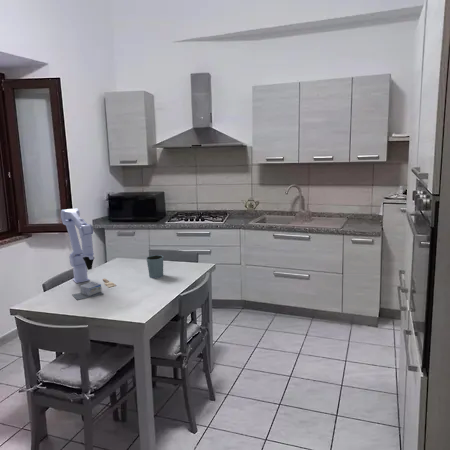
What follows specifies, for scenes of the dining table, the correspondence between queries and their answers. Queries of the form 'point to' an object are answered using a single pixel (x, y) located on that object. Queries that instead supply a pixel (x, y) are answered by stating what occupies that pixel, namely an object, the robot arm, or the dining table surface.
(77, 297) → the slate mat
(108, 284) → the beech turner
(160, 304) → the dining table surface
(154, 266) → the teal utensil pot
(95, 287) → the medicine box
